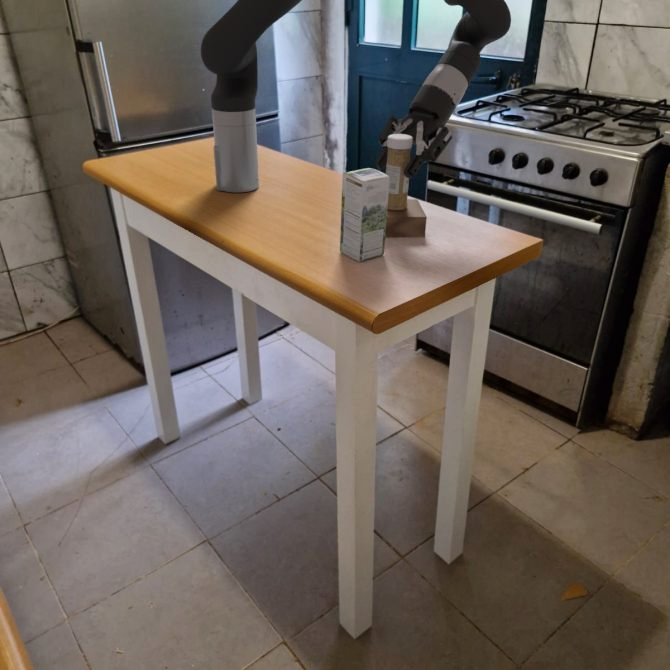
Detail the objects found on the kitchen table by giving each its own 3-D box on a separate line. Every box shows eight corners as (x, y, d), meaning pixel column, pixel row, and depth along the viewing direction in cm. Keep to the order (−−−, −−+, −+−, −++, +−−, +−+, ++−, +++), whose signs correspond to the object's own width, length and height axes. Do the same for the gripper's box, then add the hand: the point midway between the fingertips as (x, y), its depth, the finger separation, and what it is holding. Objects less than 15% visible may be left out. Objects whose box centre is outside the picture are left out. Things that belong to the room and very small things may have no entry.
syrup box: (364, 245, 115) (367, 166, 107) (385, 256, 111) (390, 174, 103) (339, 252, 112) (341, 171, 104) (360, 263, 108) (363, 180, 100)
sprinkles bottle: (411, 209, 120) (417, 137, 113) (391, 212, 118) (396, 139, 111) (399, 202, 123) (404, 132, 116) (378, 205, 122) (383, 134, 115)
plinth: (372, 237, 118) (373, 217, 116) (366, 218, 126) (367, 199, 124) (424, 237, 118) (426, 216, 116) (415, 218, 127) (417, 199, 125)
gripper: (401, 78, 118) (355, 151, 117) (463, 88, 109) (414, 168, 108) (417, 104, 124) (373, 174, 123) (477, 116, 115) (430, 192, 114)
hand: (392, 171), depth 116 cm, fingers open, 6 cm apart
